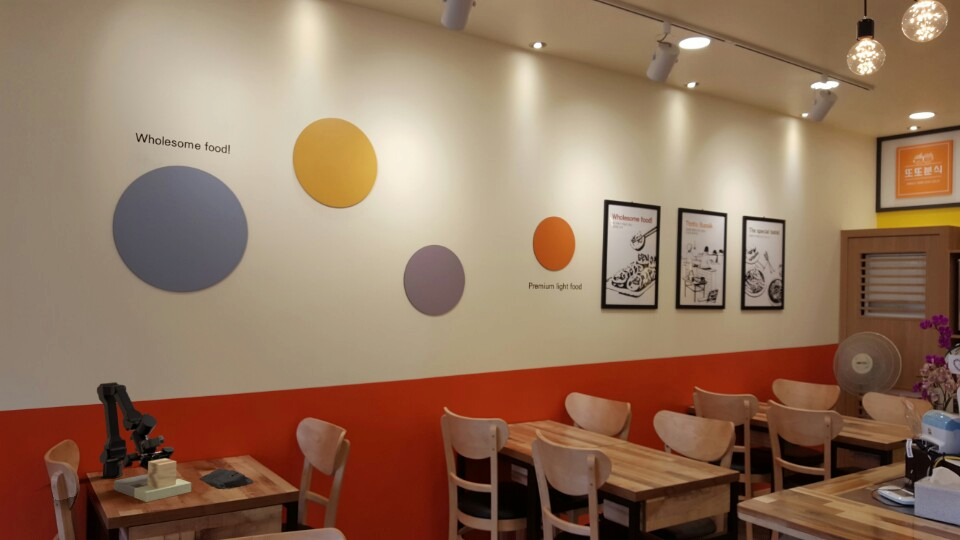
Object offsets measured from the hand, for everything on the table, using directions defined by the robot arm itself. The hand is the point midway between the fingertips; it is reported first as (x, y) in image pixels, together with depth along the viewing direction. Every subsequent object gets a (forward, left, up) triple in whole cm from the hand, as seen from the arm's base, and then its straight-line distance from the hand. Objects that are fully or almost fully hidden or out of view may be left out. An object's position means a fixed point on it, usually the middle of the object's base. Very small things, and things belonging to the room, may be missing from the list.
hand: (156, 474), depth 279 cm
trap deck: (-2, +1, -7) cm, 7 cm away
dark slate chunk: (+21, +18, -7) cm, 29 cm away
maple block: (+3, -2, -3) cm, 5 cm away
